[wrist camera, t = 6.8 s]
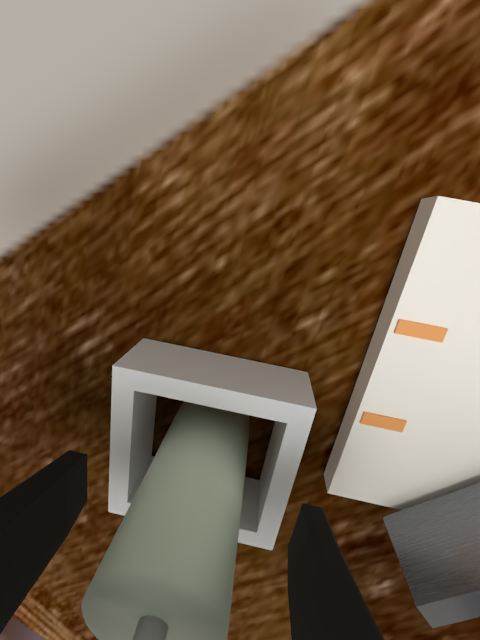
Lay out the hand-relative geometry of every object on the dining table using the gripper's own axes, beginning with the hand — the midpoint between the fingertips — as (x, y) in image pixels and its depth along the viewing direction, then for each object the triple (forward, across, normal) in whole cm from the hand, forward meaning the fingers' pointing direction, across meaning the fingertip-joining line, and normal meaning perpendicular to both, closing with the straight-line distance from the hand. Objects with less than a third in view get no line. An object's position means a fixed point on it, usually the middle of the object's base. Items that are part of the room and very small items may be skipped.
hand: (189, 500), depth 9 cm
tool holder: (+4, 0, 0) cm, 4 cm away
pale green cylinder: (+4, 0, 0) cm, 4 cm away
